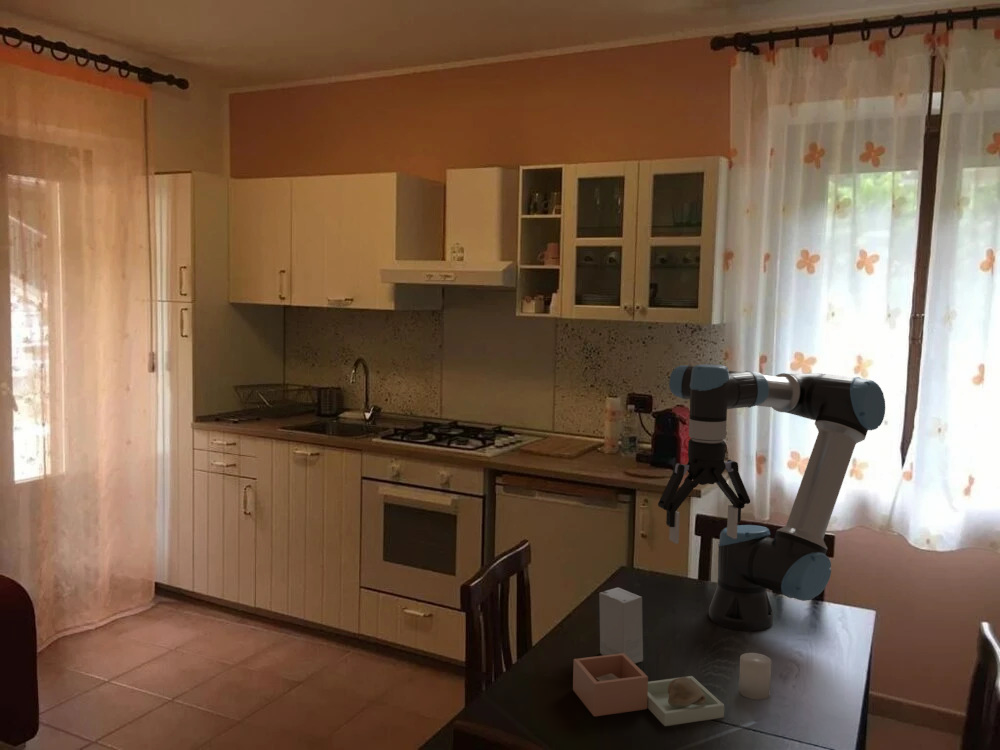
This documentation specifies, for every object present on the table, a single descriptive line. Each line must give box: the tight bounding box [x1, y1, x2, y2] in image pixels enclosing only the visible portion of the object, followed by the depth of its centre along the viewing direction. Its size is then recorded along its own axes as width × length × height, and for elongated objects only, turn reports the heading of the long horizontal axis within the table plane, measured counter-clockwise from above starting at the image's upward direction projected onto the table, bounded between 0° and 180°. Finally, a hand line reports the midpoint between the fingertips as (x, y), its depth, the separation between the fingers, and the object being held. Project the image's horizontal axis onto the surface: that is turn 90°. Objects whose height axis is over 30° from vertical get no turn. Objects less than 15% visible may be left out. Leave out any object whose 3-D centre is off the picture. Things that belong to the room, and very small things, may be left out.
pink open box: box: [572, 653, 649, 718], centre depth 169 cm, size 11×11×7 cm
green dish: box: [647, 675, 725, 727], centre depth 167 cm, size 12×12×3 cm
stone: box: [668, 676, 706, 707], centre depth 165 cm, size 7×6×8 cm
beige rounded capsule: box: [738, 652, 772, 701], centre depth 173 cm, size 6×6×7 cm
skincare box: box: [598, 587, 644, 664], centre depth 187 cm, size 8×6×15 cm
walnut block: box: [595, 673, 620, 682], centre depth 169 cm, size 4×4×4 cm
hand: (703, 539), depth 180 cm, fingers open, 13 cm apart
